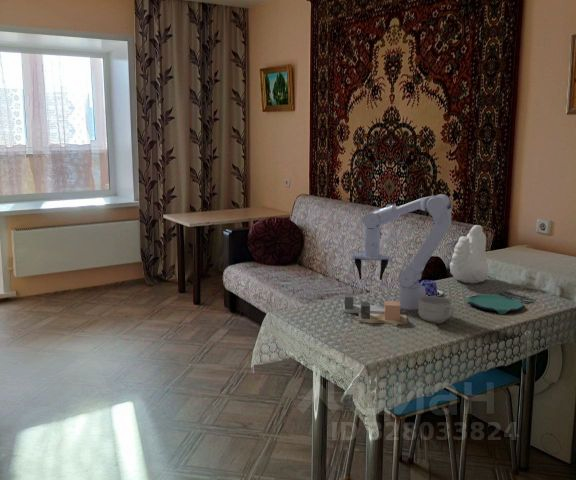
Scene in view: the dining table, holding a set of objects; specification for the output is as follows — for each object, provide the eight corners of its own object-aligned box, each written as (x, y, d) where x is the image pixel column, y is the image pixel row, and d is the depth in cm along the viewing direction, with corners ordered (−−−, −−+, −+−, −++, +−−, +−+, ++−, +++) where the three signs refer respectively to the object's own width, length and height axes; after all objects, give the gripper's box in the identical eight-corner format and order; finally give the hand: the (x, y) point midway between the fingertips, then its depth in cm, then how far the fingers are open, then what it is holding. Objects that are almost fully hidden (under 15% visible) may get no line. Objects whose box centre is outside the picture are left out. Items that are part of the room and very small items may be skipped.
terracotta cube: (398, 315, 199) (399, 301, 198) (399, 320, 195) (400, 305, 194) (383, 314, 200) (384, 301, 199) (384, 319, 195) (385, 305, 194)
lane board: (392, 310, 212) (392, 307, 212) (396, 328, 193) (397, 325, 192) (343, 308, 214) (343, 305, 214) (342, 326, 194) (342, 323, 194)
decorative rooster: (466, 274, 266) (470, 221, 262) (496, 281, 254) (500, 225, 249) (430, 282, 252) (433, 226, 247) (460, 290, 239) (464, 231, 235)
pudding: (410, 296, 232) (411, 283, 231) (415, 288, 243) (415, 276, 242) (441, 299, 227) (441, 286, 226) (444, 291, 238) (445, 279, 237)
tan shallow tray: (405, 317, 200) (406, 302, 199) (407, 324, 194) (408, 308, 192) (358, 315, 202) (359, 300, 201) (359, 322, 195) (359, 306, 194)
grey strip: (387, 308, 211) (387, 294, 210) (388, 314, 204) (389, 299, 203) (343, 306, 212) (343, 292, 211) (343, 312, 205) (343, 297, 204)
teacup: (411, 318, 204) (412, 296, 202) (437, 314, 207) (438, 293, 206) (434, 330, 191) (436, 307, 189) (462, 327, 195) (463, 304, 193)
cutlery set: (456, 304, 220) (457, 298, 220) (501, 293, 239) (501, 287, 238) (503, 318, 205) (504, 312, 205) (547, 305, 223) (548, 299, 223)
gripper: (352, 245, 213) (351, 281, 216) (392, 246, 212) (390, 282, 214) (352, 241, 220) (351, 276, 223) (390, 242, 219) (389, 277, 221)
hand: (370, 279), depth 219 cm, fingers open, 7 cm apart
